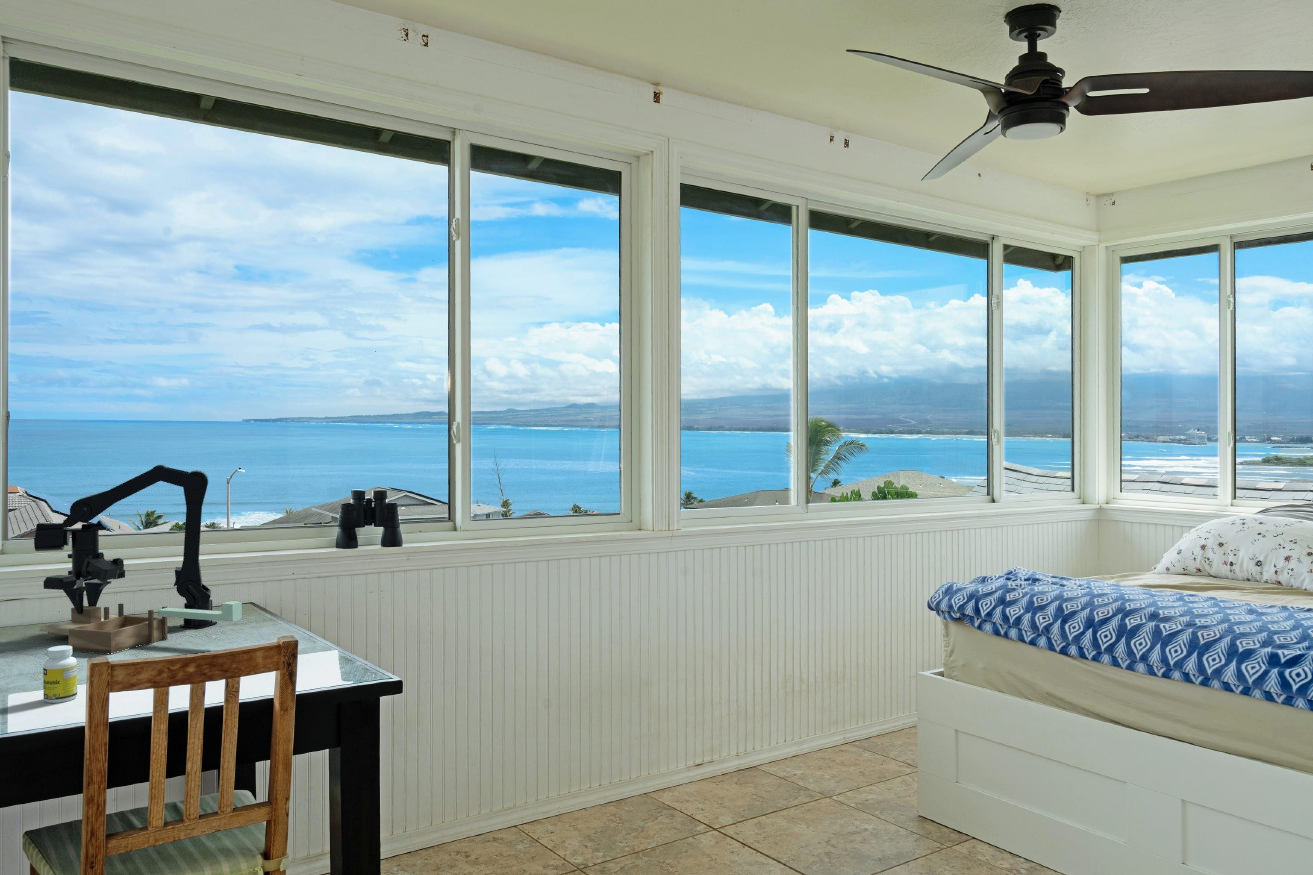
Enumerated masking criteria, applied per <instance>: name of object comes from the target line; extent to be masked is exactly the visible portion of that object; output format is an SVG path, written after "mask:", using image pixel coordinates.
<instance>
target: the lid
mask: <svg viewBox="0 0 1313 875" xmlns="http://www.w3.org/2000/svg"><path fill="white" fill-rule="evenodd" d="M70 616H71V618H70V619H69V620H64V621H59V622H55V623H51V624H47V625H43V626H39V627H38V628H39V632H44V633H45V632H46V633H47V634H48V635H58V636H69V629H71V628H75V627H79V626H83V625H87V624H91V623H95V622H99V621H104V614H102V607H101V606H96V607H94V606H88V605H83V614H78V613H77V611H76V609H75V608H74V607H71V608H70ZM116 617H118V615H113V614H109V619H112V618H116Z"/></svg>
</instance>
